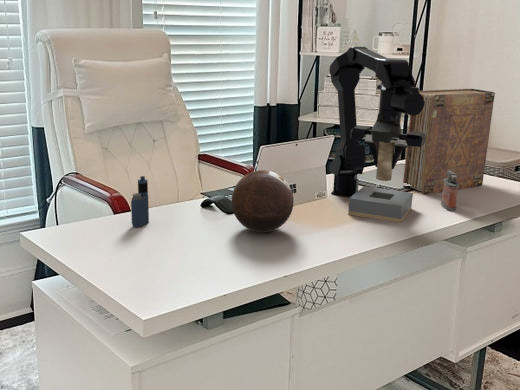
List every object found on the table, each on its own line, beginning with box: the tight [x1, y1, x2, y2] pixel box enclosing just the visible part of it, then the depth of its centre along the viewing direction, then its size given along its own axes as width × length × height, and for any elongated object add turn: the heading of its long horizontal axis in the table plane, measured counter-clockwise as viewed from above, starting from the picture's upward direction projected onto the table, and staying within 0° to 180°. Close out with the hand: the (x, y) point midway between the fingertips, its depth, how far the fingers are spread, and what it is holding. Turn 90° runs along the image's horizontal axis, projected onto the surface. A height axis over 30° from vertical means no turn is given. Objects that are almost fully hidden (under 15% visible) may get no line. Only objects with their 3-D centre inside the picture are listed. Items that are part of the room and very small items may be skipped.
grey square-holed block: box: [347, 185, 414, 224], centre depth 168 cm, size 14×14×4 cm
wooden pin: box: [375, 140, 396, 182], centre depth 162 cm, size 4×4×10 cm
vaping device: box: [130, 175, 150, 228], centre depth 151 cm, size 3×5×12 cm, turn 155°
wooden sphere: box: [231, 169, 295, 233], centre depth 149 cm, size 15×15×15 cm
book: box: [402, 88, 496, 195], centre depth 191 cm, size 25×9×30 cm, turn 118°
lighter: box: [440, 171, 459, 212], centre depth 173 cm, size 8×3×10 cm, turn 179°
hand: (384, 167), depth 163 cm, fingers closed on wooden pin, 4 cm apart
